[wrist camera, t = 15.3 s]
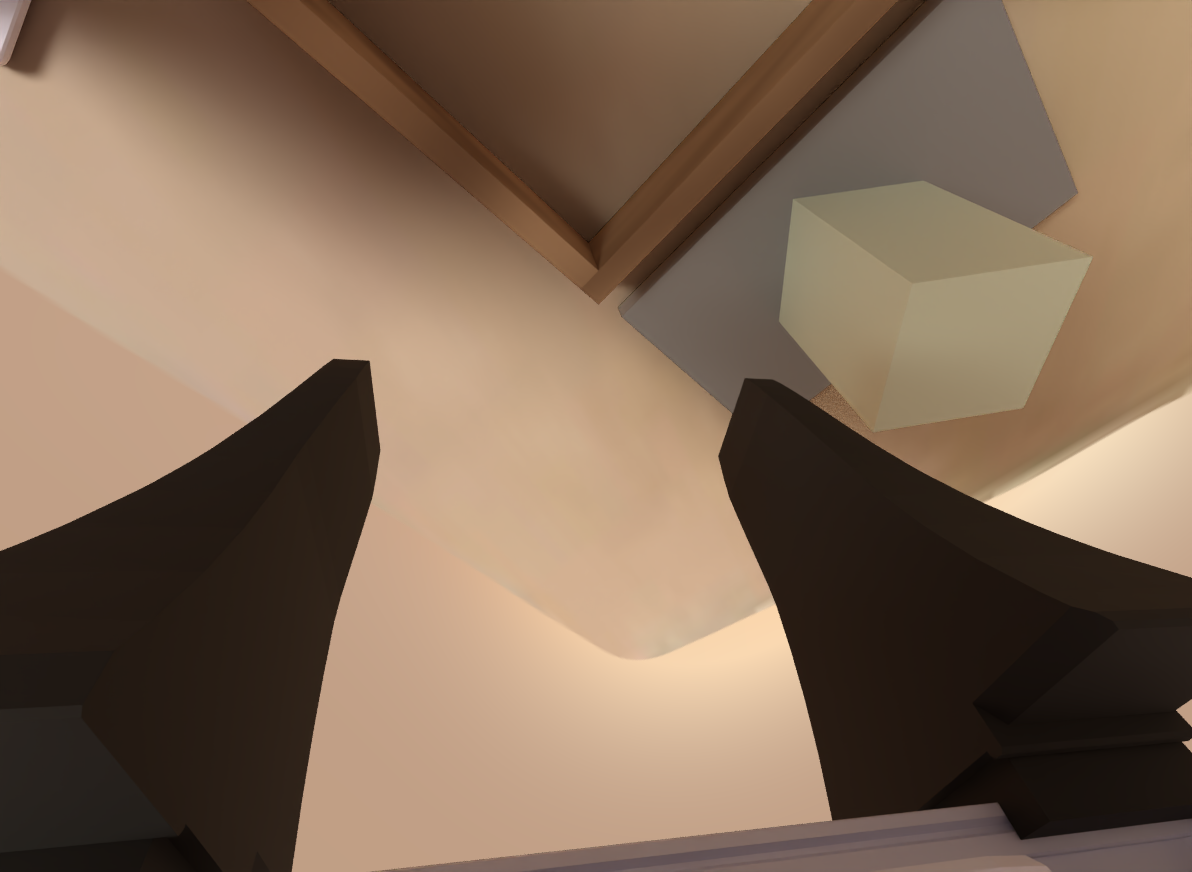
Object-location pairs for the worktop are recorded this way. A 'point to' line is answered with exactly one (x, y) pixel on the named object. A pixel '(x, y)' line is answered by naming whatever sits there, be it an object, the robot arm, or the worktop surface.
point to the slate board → (857, 188)
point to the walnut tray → (667, 196)
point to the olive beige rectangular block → (923, 301)
